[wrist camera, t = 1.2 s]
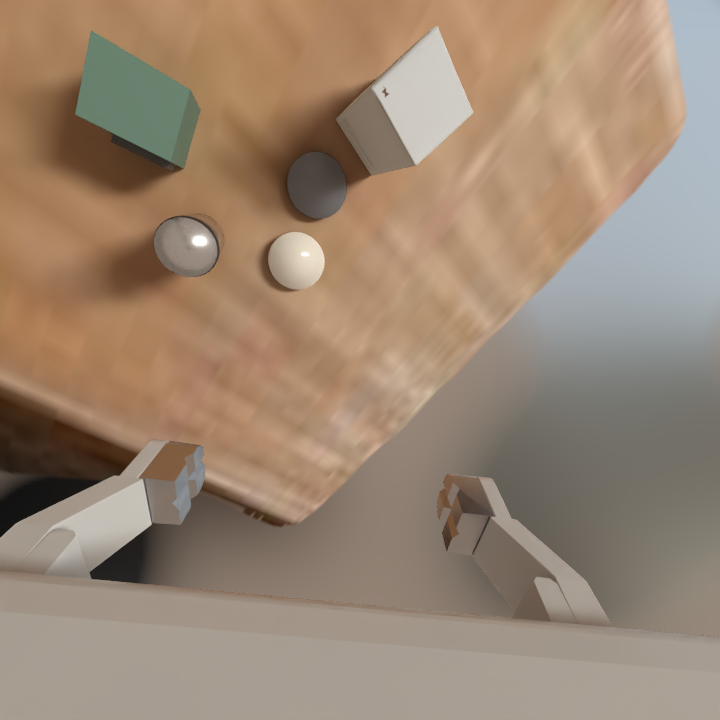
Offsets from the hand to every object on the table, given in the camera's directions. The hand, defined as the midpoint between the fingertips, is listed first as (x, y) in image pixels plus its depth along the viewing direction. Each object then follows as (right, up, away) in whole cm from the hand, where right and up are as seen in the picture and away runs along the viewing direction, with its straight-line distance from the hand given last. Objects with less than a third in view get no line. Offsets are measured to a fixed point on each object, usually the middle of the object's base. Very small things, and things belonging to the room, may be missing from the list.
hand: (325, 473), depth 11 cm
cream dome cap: (-7, +17, +32) cm, 37 cm away
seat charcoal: (-4, +25, +29) cm, 38 cm away
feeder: (-20, +28, +22) cm, 41 cm away
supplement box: (+3, +32, +29) cm, 43 cm away
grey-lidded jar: (-17, +18, +28) cm, 37 cm away
